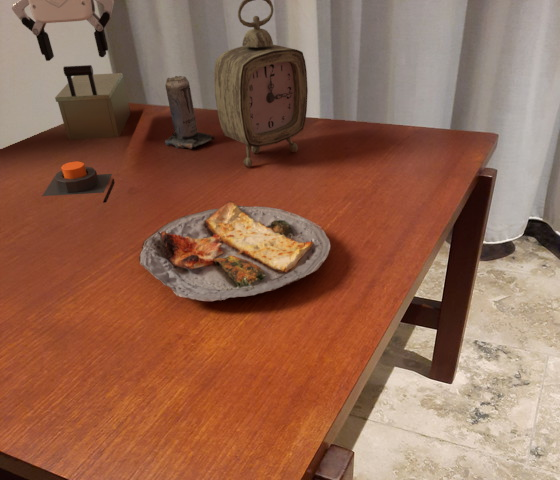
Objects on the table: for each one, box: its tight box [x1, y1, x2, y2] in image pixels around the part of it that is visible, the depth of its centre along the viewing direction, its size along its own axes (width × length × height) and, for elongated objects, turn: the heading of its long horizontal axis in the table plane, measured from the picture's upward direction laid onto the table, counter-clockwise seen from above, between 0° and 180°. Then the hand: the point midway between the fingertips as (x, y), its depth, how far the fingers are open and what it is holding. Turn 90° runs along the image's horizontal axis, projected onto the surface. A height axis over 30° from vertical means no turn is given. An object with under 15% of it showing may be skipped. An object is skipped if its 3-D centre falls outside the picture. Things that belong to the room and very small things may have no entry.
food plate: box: [138, 200, 331, 302], centre depth 73 cm, size 25×23×4 cm
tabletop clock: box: [213, 0, 309, 168], centre depth 95 cm, size 14×9×25 cm, turn 129°
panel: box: [41, 165, 115, 204], centre depth 92 cm, size 10×8×4 cm
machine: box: [57, 77, 131, 141], centre depth 113 cm, size 16×10×9 cm, turn 3°
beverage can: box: [164, 75, 216, 150], centre depth 106 cm, size 9×8×12 cm
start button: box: [61, 161, 87, 179], centre depth 90 cm, size 4×4×2 cm
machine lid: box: [54, 64, 124, 103], centre depth 108 cm, size 16×10×5 cm, turn 3°
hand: (76, 57), depth 101 cm, fingers open, 9 cm apart
